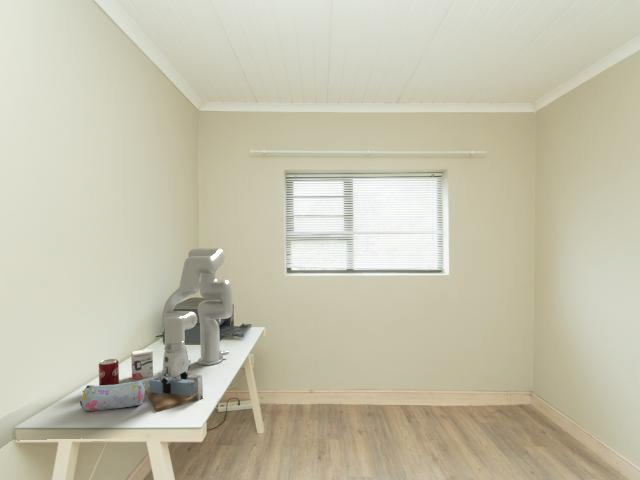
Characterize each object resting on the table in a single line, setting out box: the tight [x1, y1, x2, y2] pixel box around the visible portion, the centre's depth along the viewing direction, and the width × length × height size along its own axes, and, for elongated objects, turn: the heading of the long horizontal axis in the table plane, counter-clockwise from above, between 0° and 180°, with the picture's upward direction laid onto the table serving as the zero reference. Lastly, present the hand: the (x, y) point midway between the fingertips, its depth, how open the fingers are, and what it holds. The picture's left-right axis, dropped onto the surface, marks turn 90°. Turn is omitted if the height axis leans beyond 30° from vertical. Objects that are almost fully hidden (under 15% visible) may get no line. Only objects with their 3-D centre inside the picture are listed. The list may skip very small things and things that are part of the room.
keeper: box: [187, 374, 204, 402], centre depth 141 cm, size 6×3×9 cm, turn 71°
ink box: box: [130, 348, 154, 381], centre depth 165 cm, size 8×5×12 cm, turn 123°
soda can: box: [98, 358, 120, 386], centre depth 151 cm, size 7×7×12 cm
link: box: [148, 375, 194, 396], centre depth 144 cm, size 19×6×5 cm, turn 71°
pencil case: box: [79, 380, 146, 412], centre depth 135 cm, size 21×9×10 cm, turn 98°
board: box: [145, 387, 204, 413], centre depth 144 cm, size 17×22×1 cm
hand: (175, 387), depth 144 cm, fingers open, 9 cm apart
